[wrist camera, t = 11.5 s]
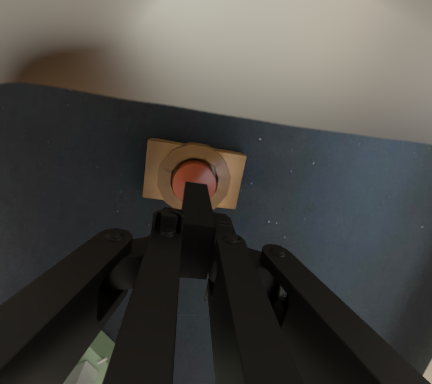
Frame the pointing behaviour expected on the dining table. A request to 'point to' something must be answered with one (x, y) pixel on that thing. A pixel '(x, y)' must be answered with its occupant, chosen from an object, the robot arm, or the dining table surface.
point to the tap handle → (82, 374)
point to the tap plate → (99, 355)
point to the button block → (182, 152)
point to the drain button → (193, 177)
